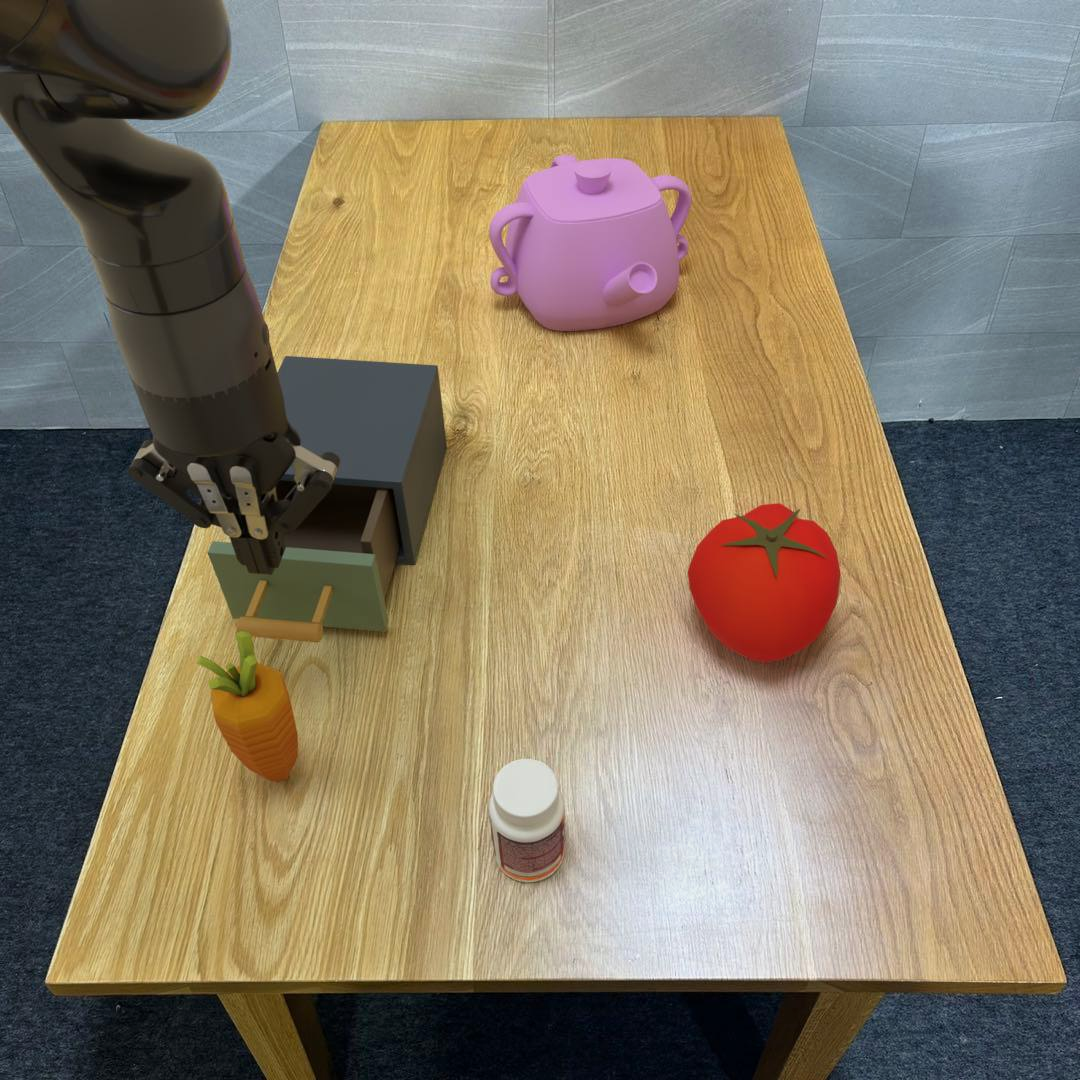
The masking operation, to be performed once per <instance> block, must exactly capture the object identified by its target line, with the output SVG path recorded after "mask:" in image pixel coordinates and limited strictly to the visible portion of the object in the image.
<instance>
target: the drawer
mask: <svg viewBox="0 0 1080 1080" xmlns="http://www.w3.org/2000/svg"><path fill="white" fill-rule="evenodd" d="M296 484H297V483H296V482H295V481H284V480H280V481H279V482H278V483H277V485H276V494H277V499H278V501H280V500H285V497H286V496H287V494H288V493H289V492H290V491H291V490H292V489H293V487H294V486H295V485H296ZM282 536H283V540H284V543H285V546H286V548H285V551H284V554H283V557H282V559H281V562H280V565H279V567H278V568H275V569H274V571H273V574H272V575H265V574H251V573H248V570H247V567H246V566H245V565H241V563H240V562H239V561H238V560H237V557H236V553H235V552H234V549H233V546H232V543H231V541H230V542H229V541H227V542H226V541H217V540H213V541H211V544H210V546H209V548H208V550H207V556H208V557H209V560H210V563H211V565H212V569H213V571H214V573H215V576H216V578H217V581H218V584H219V587H220V589H221V592H222V595H223V597H224V600H225V602H226V605H227V608H228V610H229V612H230V616H231V618H232V619H236V620H237V623H236V633H238V632H240V631H244V632H249V633H250V635H251V637H252V638H262V639H271V640H284V641H293V642H294V641H295V642H306V643H316V644H319V643H321V642H322V640H323V635H324V627H327V628H338V629H339V628H340V629H349V630H359V631H360V630H361V631H372V632H384V633H385V632H386V631H387V629H388V624H389V620H390V619H389V616H388V611H387V606H386V600H385V599H386V596H387V592H388V589H389V586H390V583H391V579H392V577H393V576H392V575H393V572H394V569H395V566H396V563H395V562H396V559H397V555H398V552H399V548H400V545H401V542H402V538H401V532H400V527H399V521H398V515H397V509H396V503H395V498H394V492H393V489H391V488H378V487H364V486H351V485H338V484H332V486H331V489H330V491H329V493H328V494H327V495H326V496H325V497H324V498H323V499H322V500H321V501H320V503H319V504H318V505H317V506H316V507H315V508H314V509H313V510H312V511H311V513H310V514H309V515H308V516H307V517H306V518H305V519H304V520H303V522H302V523H301V524H300V525H299V526H298V527H297V528H296V529H295V530H294V532H293V533H291V534H289V535H285V534H282Z"/></svg>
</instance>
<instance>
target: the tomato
mask: <svg viewBox="0 0 1080 1080" xmlns="http://www.w3.org/2000/svg"><path fill="white" fill-rule="evenodd" d="M800 512H801V507H800V508H798V509H797V510H796V511H793V510H792V509H790V508H789V507H787V506H785V505H784V504H782V503H781V502H778V503H777V502H776V503H767V504H761V505H759V506H757V507H755V508H754V509H751V510H749V511H747V512H746V513H745V514H743V515H739V514H737V513H735V512H733V515H735V517H731V518H726V519H722V520H721V521H720V522H718V523H717V524H716V525H715V526H714V527H712V529H711V530H710V531H708V532H707V534H706V535H705V536H704V538H703V539H701V541H700V542H698V544H697V545H696V547H695V550H694V553H693V555H692V558H691V561H690V563H689V566H688V569H687V578H688V587H689V591H690V594H691V596H692V599H693V602H694V605H695V607H696V609H697V610H698V612H699V614H700V616H701V618H702V619H703V621H704V623H705V625H706V627H707V628H708V630H709V632H710V633H711V634H712V635H713V636H714V637H715V638H716V639H717V640H718V641H719V642H721V644H723V646H725V647H726V648H727V649H729V650H730V651H733V652H735V653H736V654H739V655H740V656H742V657H744V658H746V659H748V660H750V661H754V662H755V661H756V662H760V663H771V662H777V661H782V660H783V661H784V660H785V659H787V658H789V657H791V656H793V655H795V654H796V653H798V652H801V651H802V650H804V649H806V648H807V647H809V646H810V645H812V644H813V643H814V641H816V639H817V638H819V636H821V634H823V632H824V631H825V629H826V627H827V624H828V622H829V621H830V619H831V616H832V614H833V612H834V610H835V607H836V605H837V602H838V598H839V591H840V582H841V568H840V563H839V558H838V552H837V549H836V547H835V545H834V543H833V541H832V539H831V537H830V534H829V533H828V531H826V530H824V528H822V526H820V525H819V524H818V523H817V522H816V521H815V520H810V519H803V518H798V514H799V513H800Z"/></svg>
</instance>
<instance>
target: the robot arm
mask: <svg viewBox="0 0 1080 1080" xmlns="http://www.w3.org/2000/svg"><path fill="white" fill-rule="evenodd" d="M232 47H233V45H232V30H231V24H230V19H229V15H228V11H227V8H226V5H225V2H224V0H0V118H1V119H2V122H4V123H5V125H6V126H7V128H8V129H9V130H10V132H11V133H12V135H13V136H14V137H15V138H16V140H17V142H18V143H19V144H20V145H21V147H22V148H23V150H24V151H25V152H26V154H27V155H28V156H29V158H30V159H31V161H32V162H33V163H34V165H35V166H36V167H37V169H38V170H39V171H40V173H41V174H42V176H43V178H44V179H45V180H46V182H47V183H48V185H49V186H50V188H51V190H53V192H54V193H55V194H56V196H57V197H58V198H59V200H60V201H61V202H62V203H63V205H64V206H65V207H66V209H67V210H68V212H69V213H70V214H71V216H72V218H73V219H74V220H75V222H76V224H77V226H78V227H79V230H80V234H81V236H82V238H83V241H84V244H85V246H86V248H87V252H88V254H89V256H90V259H91V261H92V264H93V267H94V270H95V272H96V275H97V278H98V280H99V283H100V285H101V288H102V291H103V294H104V298H105V301H106V304H107V309H108V315H109V319H110V323H111V328H112V332H113V335H114V339H115V342H116V344H117V347H118V349H119V351H120V354H121V357H122V359H123V362H124V364H125V367H126V370H127V372H128V376H129V378H130V380H131V383H132V385H133V386H132V387H133V388H134V392H135V394H136V396H137V399H138V402H139V405H140V407H141V409H142V412H143V414H144V417H145V420H146V422H147V425H148V427H149V431H150V433H151V435H152V436H153V437H152V439H146V440H144V441H143V442H142V445H141V446H140V448H138V449H139V450H138V451H137V453H136V455H135V456H134V458H133V460H132V461H131V464H130V465H129V466H128V469H127V474H128V475H129V476H130V478H131V479H133V480H134V481H135V482H136V483H138V484H140V485H141V486H142V487H143V488H145V489H147V491H149V492H150V493H152V494H153V495H155V496H156V497H157V498H158V499H160V500H161V501H163V502H164V503H165V504H166V505H168V506H169V507H171V508H172V509H173V510H175V511H176V512H177V513H179V514H180V515H181V516H182V517H184V518H185V519H187V520H188V521H189V522H191V523H192V524H193V525H194V526H196V527H198V528H200V529H208V528H211V526H212V525H213V526H215V527H218V528H221V530H222V532H223V534H225V535H226V536H228V537H229V540H230V543H232V546H233V549H234V552H235V553H236V557H237V560H238V561H239V562H240V563H241V565H245V566H246V567H247V570H248V573H251V574H265V575H272V574H273V571H274V569H275V568H278V567H279V565H280V562H281V559H282V557H283V554H284V551H285V548H286V546H285V543H284V540H283V536H282V534H285V535H289V534H291V533H293V532H294V530H295V529H296V528H297V527H298V526H299V525H300V524H301V523H302V522H303V520H304V519H305V518H306V517H307V516H308V515H309V514H310V513H311V511H312V510H313V509H314V508H315V507H316V506H317V505H318V504H319V503H320V501H321V500H322V499H323V498H324V497H325V496H326V495H327V494H328V493H329V491H330V489H331V486H332V483H333V481H334V478H335V475H336V473H337V470H338V467H339V464H340V459H339V457H338V456H337V455H336V454H334V453H331V452H325V453H323V454H322V455H321V456H320V457H319V456H317V455H315V454H314V453H312V452H310V451H309V450H307V449H305V448H304V447H302V446H300V445H301V440H300V436H299V434H298V432H297V431H296V430H295V429H294V428H293V427H292V426H291V424H290V423H289V421H288V420H287V417H286V411H285V403H284V397H283V393H282V389H281V385H280V381H279V377H278V374H277V372H278V370H277V365H276V362H275V358H274V354H273V350H272V346H271V341H270V330H269V326H268V324H267V322H266V321H265V318H264V315H263V311H262V306H261V303H260V300H259V297H258V293H257V291H256V288H255V286H254V284H253V280H252V279H251V277H250V274H249V272H248V269H247V266H246V263H245V259H244V254H243V251H242V247H241V243H240V239H239V235H238V231H237V228H236V224H235V220H234V216H233V212H232V208H231V204H230V200H229V196H228V193H227V190H226V187H225V186H226V185H225V184H224V182H223V178H222V176H221V174H220V173H219V171H218V169H217V168H216V166H215V165H214V164H213V163H212V162H211V161H210V160H209V159H207V157H205V156H203V155H202V154H201V153H199V152H197V151H194V150H192V149H189V148H186V147H183V146H181V145H177V144H174V143H171V142H167V141H165V140H162V139H158V138H155V137H152V136H150V135H148V134H145V133H144V132H142V131H140V130H138V129H136V128H135V127H134V126H132V125H131V124H130V123H129V122H128V121H127V120H139V121H174V120H179V119H184V118H187V117H190V116H193V115H195V114H196V113H199V112H200V111H202V110H203V109H204V108H206V107H207V106H208V105H209V104H210V103H211V102H212V101H213V100H214V99H215V98H216V96H217V95H218V93H219V92H220V91H221V88H222V87H223V84H224V83H225V81H226V79H227V76H228V72H229V69H230V65H231V61H232V60H231V59H232ZM290 466H292V467H293V468H294V469H295V476H294V481H295V482H296V483H297V484H296V485H295V486H294V487H293V489H292V490H291V491H290V492H289V493H288V494H287V496H286V497H285V500H280V501H278V499H277V494H276V485H277V483H278V482H279V481H280V479H281V478H282V477H283V475H284V474H285V473H286V471H287V470H288V469H289V467H290ZM188 491H190V492H191V493H192V494H194V496H196V497H197V498H199V499H200V500H199V501H198V502H199V503H198V502H196V501H195V500H194V499H192V498H191V497H190V496H189V495H188Z"/></svg>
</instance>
